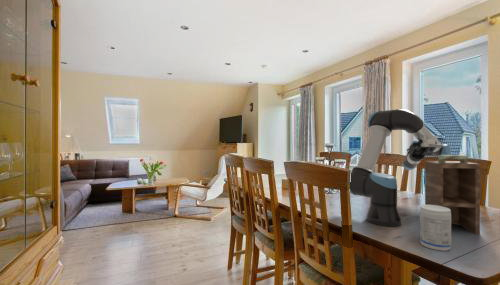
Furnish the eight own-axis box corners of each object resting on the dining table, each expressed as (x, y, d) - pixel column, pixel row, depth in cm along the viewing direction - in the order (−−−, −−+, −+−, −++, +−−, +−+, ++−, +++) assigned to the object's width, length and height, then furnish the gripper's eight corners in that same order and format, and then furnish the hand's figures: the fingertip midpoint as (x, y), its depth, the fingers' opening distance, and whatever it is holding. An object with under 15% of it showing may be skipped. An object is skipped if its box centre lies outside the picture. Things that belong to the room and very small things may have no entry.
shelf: (439, 231, 109) (438, 155, 109) (425, 221, 123) (425, 154, 123) (479, 234, 105) (479, 156, 105) (460, 223, 119) (460, 154, 119)
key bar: (436, 147, 123) (435, 139, 123) (421, 146, 140) (421, 139, 140) (445, 147, 122) (445, 139, 122) (429, 146, 139) (429, 139, 139)
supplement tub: (422, 239, 101) (422, 203, 101) (452, 245, 94) (452, 207, 94) (417, 246, 94) (417, 207, 94) (450, 254, 87) (450, 212, 87)
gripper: (433, 161, 148) (451, 143, 129) (401, 161, 153) (413, 144, 133) (430, 150, 152) (447, 131, 132) (399, 150, 156) (411, 132, 136)
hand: (430, 137), depth 132 cm, fingers closed on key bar, 4 cm apart
